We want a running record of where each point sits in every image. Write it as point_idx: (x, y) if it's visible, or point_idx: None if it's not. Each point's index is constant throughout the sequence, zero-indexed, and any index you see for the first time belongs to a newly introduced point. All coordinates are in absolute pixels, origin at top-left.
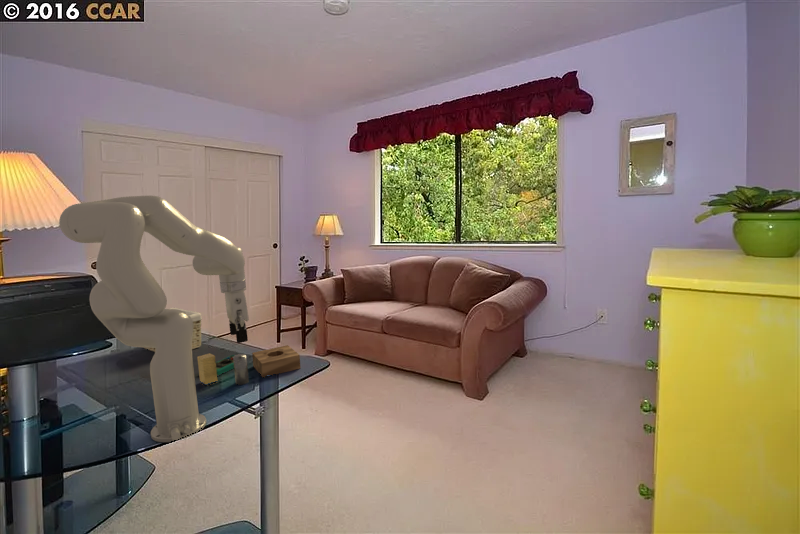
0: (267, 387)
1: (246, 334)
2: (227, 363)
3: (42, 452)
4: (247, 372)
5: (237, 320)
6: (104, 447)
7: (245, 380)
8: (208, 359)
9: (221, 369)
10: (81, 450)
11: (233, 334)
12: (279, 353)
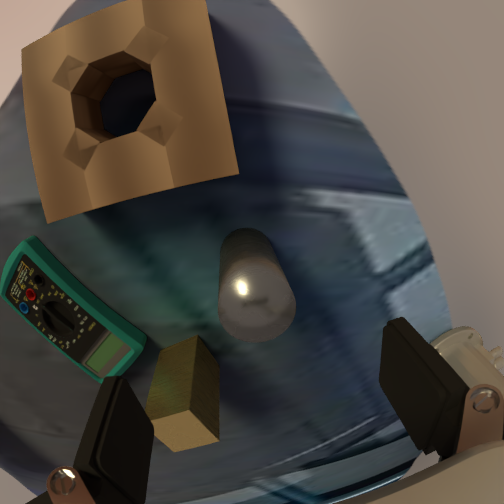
0: (349, 161)
1: (431, 354)
2: (57, 310)
3: (365, 486)
4: (260, 242)
5: (93, 491)
6: (410, 441)
7: (270, 244)
8: (206, 421)
9: (124, 334)
10: (396, 459)
11: (148, 418)
12: (85, 80)
